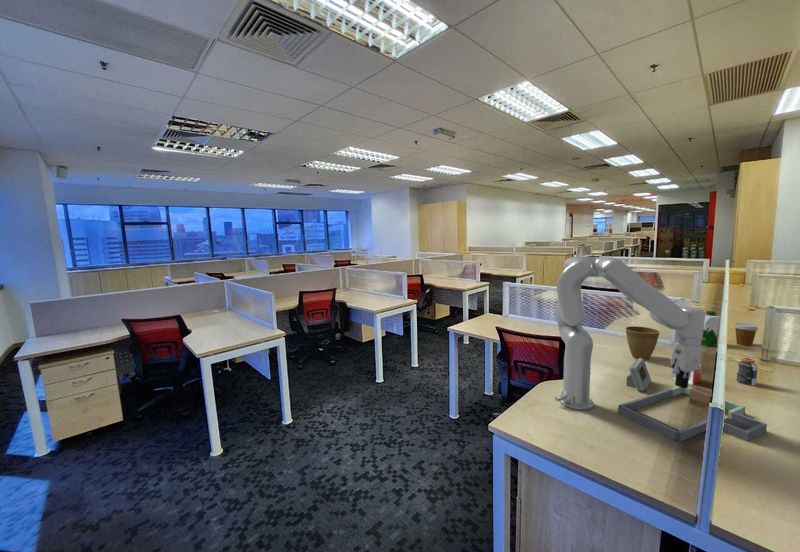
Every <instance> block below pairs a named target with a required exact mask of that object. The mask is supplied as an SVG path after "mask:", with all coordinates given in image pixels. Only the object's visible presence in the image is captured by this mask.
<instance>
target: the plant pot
mask: <svg viewBox="0 0 800 552" xmlns="http://www.w3.org/2000/svg"><path fill="white" fill-rule="evenodd" d="M625 333H626V340H627V344H628V347H629V351H630V354H631V356H632V357H633V358H634V359H636V360H637V359H638V358H642V359H643V360H644V361H648V360H649V359H650V358H651V356H652V355H653V353H654V351H655V348H656V347H657V343H658V340H659V336H660V330H657V329H656V328H652V327H647V326H637V325H636V326H634V325H633V326H626V327H625Z"/></svg>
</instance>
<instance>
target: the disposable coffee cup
mask: <svg viewBox="0 0 800 552" xmlns="http://www.w3.org/2000/svg"><path fill="white" fill-rule="evenodd" d="M734 324H735V325H734V330H735V339H736V341H735V342H736V344H737V345H739V346H744V347H753V344H754V341H755V337H756V333H757V331H758V329H759V328H758V325H756V324H752V323H751V324H750V323H745V322H744V323H743V322H740V323H739V322H738V323H737V322H736V323H734Z"/></svg>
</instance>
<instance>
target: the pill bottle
mask: <svg viewBox="0 0 800 552" xmlns="http://www.w3.org/2000/svg"><path fill="white" fill-rule="evenodd" d="M736 374H737V375H736V381H737V383H740V384H741V385H742V384H743V385H746V386H756V385H757V379H758V378H757V377H758V365H757V364H756V361H755V359H753V358H750V357H741V361H740V362H737V372H736Z"/></svg>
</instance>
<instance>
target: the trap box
mask: <svg viewBox="0 0 800 552" xmlns="http://www.w3.org/2000/svg"><path fill="white" fill-rule="evenodd" d="M690 389H693V388H692V387H689V386H688V388H681V387H679V386H673V387H671V388H669V389H664V390H662V391H659V392H655V393H653V394H649V395H646V396H642V397H640V398H637V399H633V400H631V401H627V402H624V403H620V404H618V406H617V407H618V409H617V413H619V414H621V415H623V416H625V417H627V418H629V419H630V420H633V421H635V422H637V423H639V424H641V425H643V426H645V427H647V428H649V429H650V430H653V431H655V432H657V433H659V434H661V435H663V436H665V437H667V438H669V439H672V440H673V441H675V442H677V443H680V442H682V441H685V440H687V439H690V438H693V437H695V436H696V434H697V435H699V434H698V433H700V432H702V431H704V432H706V424H707V419H706V420H702V421H700V422H698V423H695V424H693V425H690V426H688V427H685V428H683V429H680V430H679V429H677V428H675V427H674V426H671V425H669V424H667V423H665V422H662V421H661V420H659V419H656V418H654V417H652V416H649V415H648V414H646V413H643V412H641V411H639V410H637V409H639V408H642V407H645V406H647V405H651V404H655V403H657V402H659V401H660V402H661V401H663V400H665V399H668V398H671V397H674V396H678V395H681V394H684V395H687V396H690ZM724 400H725V408H724V409H726V410H728V409H730V410H728V411H727V417H726V418H724V427H723V431H722V432H724V433H726V434H729V435H730V434H731V436H733V437H736V438H738V439H740V440H742V441H745V442H749V441H751V440H753V439H755V438H757V437H759V436H761V435H760V434H762V435H764V434H766V433H767V428H768V427H767V426H768V424H767V423H765V422H762V421H759V420H756V419H755V418H751V417H749V416H746V415H745V414H746V406H743V405H741V404H738V403H735V402H732V401H729V400H727V399H724ZM765 432H766V433H765ZM702 433H703V432H702ZM763 433H764V434H763ZM700 434H701V433H700ZM694 435H695V436H694ZM758 435H759V436H758ZM756 436H757V437H756ZM752 438H753V439H752Z"/></svg>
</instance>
